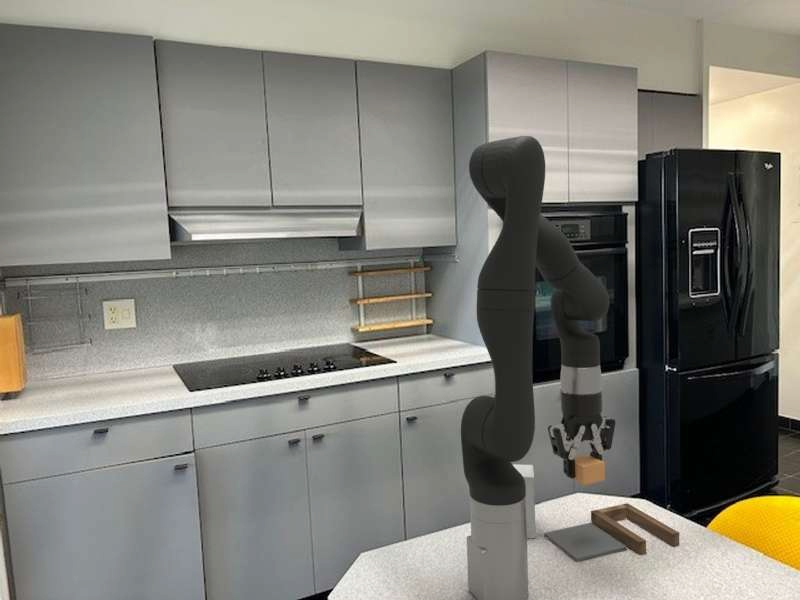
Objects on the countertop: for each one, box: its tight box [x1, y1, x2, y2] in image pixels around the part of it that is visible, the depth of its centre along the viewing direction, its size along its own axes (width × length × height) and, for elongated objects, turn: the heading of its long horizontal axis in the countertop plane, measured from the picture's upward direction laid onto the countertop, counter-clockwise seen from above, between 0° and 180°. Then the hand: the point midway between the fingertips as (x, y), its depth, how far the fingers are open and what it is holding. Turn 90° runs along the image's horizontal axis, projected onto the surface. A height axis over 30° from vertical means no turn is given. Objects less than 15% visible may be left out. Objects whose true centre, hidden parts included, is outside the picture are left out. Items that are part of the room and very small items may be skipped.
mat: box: [543, 522, 628, 562], centre depth 118 cm, size 11×11×1 cm
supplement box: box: [512, 463, 536, 539], centre depth 124 cm, size 7×7×13 cm
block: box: [571, 454, 606, 486], centre depth 116 cm, size 5×5×4 cm
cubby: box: [590, 502, 680, 556], centre depth 121 cm, size 9×14×2 cm, turn 19°
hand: (582, 474), depth 117 cm, fingers closed on block, 5 cm apart
